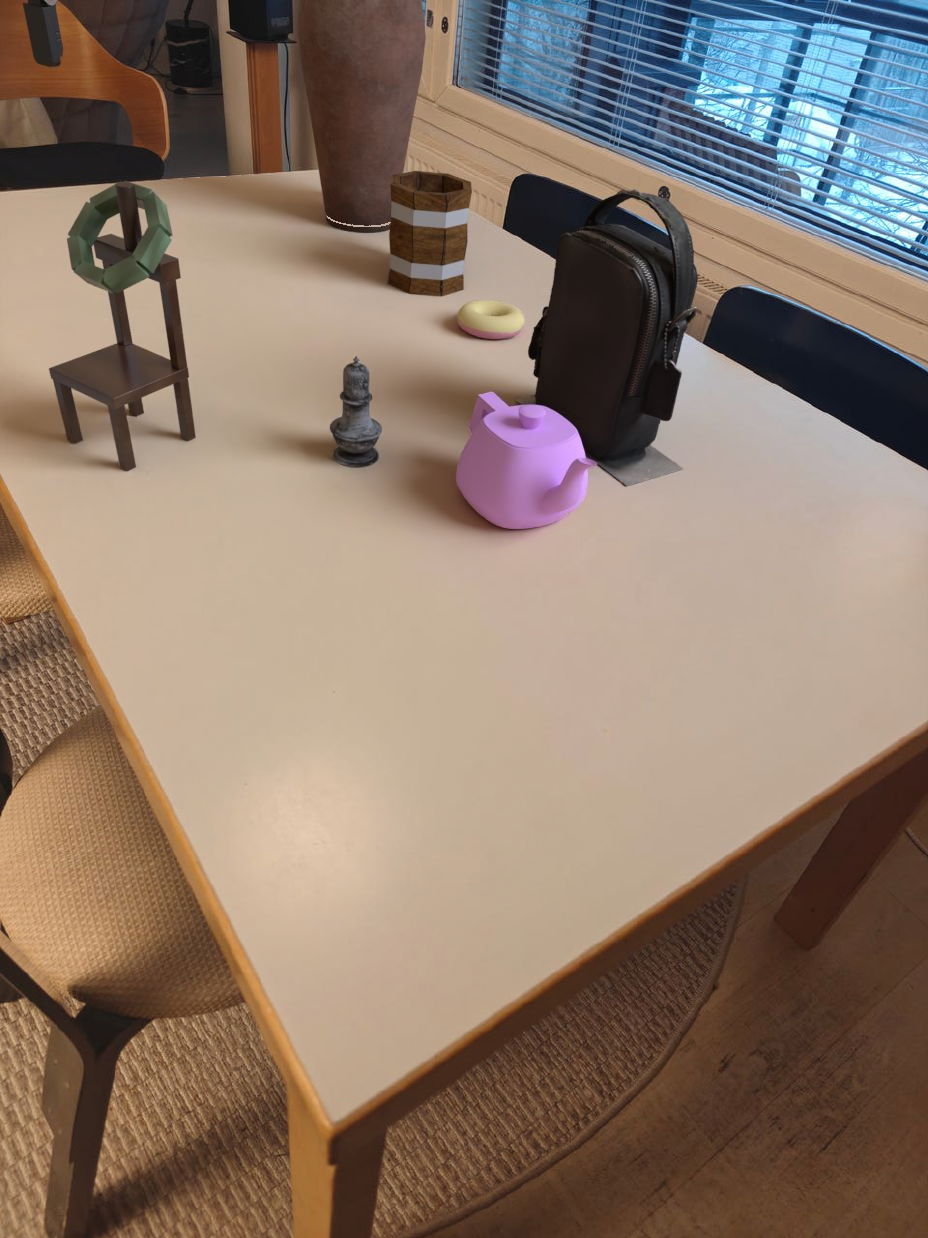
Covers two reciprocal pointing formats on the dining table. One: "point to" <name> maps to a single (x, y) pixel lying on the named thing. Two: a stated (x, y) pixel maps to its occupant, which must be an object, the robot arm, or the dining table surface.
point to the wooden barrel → (428, 232)
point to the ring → (144, 254)
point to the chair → (128, 348)
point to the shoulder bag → (616, 336)
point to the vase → (361, 100)
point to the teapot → (522, 464)
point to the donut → (490, 319)
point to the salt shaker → (355, 420)
